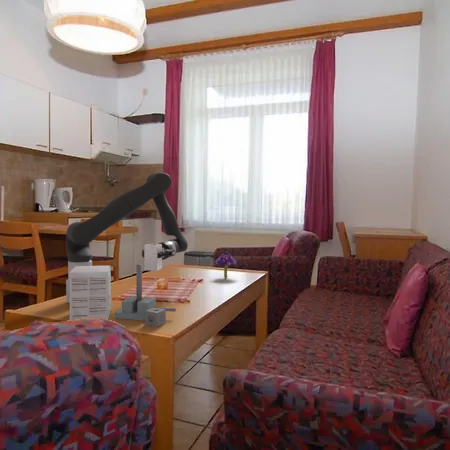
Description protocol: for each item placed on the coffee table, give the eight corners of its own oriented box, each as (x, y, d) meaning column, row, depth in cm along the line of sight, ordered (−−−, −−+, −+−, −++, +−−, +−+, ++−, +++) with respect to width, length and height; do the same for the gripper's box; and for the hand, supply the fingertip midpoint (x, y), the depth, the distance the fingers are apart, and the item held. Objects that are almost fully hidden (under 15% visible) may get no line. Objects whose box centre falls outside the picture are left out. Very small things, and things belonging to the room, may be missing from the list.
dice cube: (157, 327, 126) (157, 313, 126) (145, 325, 128) (145, 311, 128) (165, 323, 131) (165, 309, 131) (153, 321, 133) (153, 307, 133)
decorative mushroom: (230, 281, 203) (230, 253, 202) (210, 278, 209) (210, 251, 208) (240, 277, 214) (241, 251, 213) (221, 275, 220) (222, 249, 219)
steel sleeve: (144, 270, 150) (144, 245, 149) (149, 267, 155) (149, 243, 154) (157, 270, 149) (157, 245, 148) (161, 268, 154) (161, 244, 153)
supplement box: (75, 311, 143) (74, 265, 142) (111, 309, 146) (111, 265, 145) (68, 322, 130) (68, 272, 129) (108, 320, 133) (108, 271, 132)
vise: (115, 318, 135) (115, 265, 134) (127, 310, 145) (127, 261, 144) (170, 322, 132) (171, 268, 130) (179, 314, 141) (179, 264, 140)
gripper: (149, 241, 167) (133, 245, 150) (180, 242, 164) (168, 246, 147) (149, 257, 167) (134, 264, 150) (180, 258, 165) (168, 265, 148)
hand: (151, 255), depth 149 cm, fingers closed on steel sleeve, 5 cm apart
